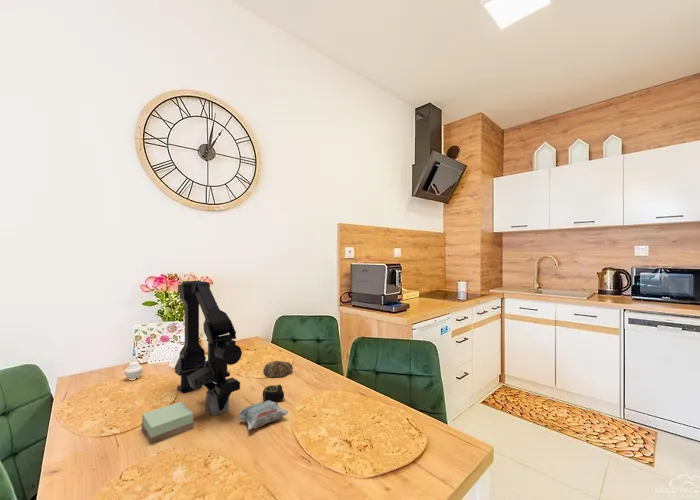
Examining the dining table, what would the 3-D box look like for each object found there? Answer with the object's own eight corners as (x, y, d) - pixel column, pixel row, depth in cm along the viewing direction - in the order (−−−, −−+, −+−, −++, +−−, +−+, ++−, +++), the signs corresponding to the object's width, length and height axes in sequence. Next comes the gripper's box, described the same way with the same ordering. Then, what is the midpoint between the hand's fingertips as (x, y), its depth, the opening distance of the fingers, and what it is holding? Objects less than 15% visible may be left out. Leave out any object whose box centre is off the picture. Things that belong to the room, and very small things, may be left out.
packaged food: (287, 421, 88) (287, 404, 88) (248, 436, 80) (248, 418, 80) (274, 410, 94) (274, 394, 95) (236, 424, 87) (236, 406, 87)
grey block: (205, 410, 94) (206, 391, 94) (221, 404, 97) (221, 386, 98) (212, 416, 90) (212, 396, 91) (228, 410, 94) (228, 390, 94)
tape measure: (284, 402, 99) (284, 391, 99) (262, 405, 97) (263, 393, 97) (282, 393, 106) (282, 383, 106) (262, 396, 104) (262, 385, 104)
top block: (142, 422, 83) (142, 413, 84) (181, 409, 91) (181, 401, 91) (151, 437, 77) (151, 427, 77) (192, 422, 84) (193, 413, 84)
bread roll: (263, 369, 130) (263, 357, 130) (292, 366, 133) (292, 355, 133) (262, 380, 118) (262, 367, 118) (294, 377, 121) (294, 365, 121)
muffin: (121, 380, 118) (121, 362, 118) (138, 374, 123) (138, 357, 123) (128, 383, 115) (128, 365, 115) (145, 377, 120) (146, 360, 120)
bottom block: (141, 432, 83) (141, 423, 83) (180, 418, 91) (180, 409, 91) (151, 447, 76) (151, 437, 77) (192, 431, 84) (192, 422, 84)
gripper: (179, 356, 95) (179, 406, 94) (203, 371, 82) (202, 429, 82) (215, 349, 103) (214, 394, 103) (241, 361, 90) (240, 413, 90)
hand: (217, 407), depth 94 cm, fingers closed on grey block, 5 cm apart
